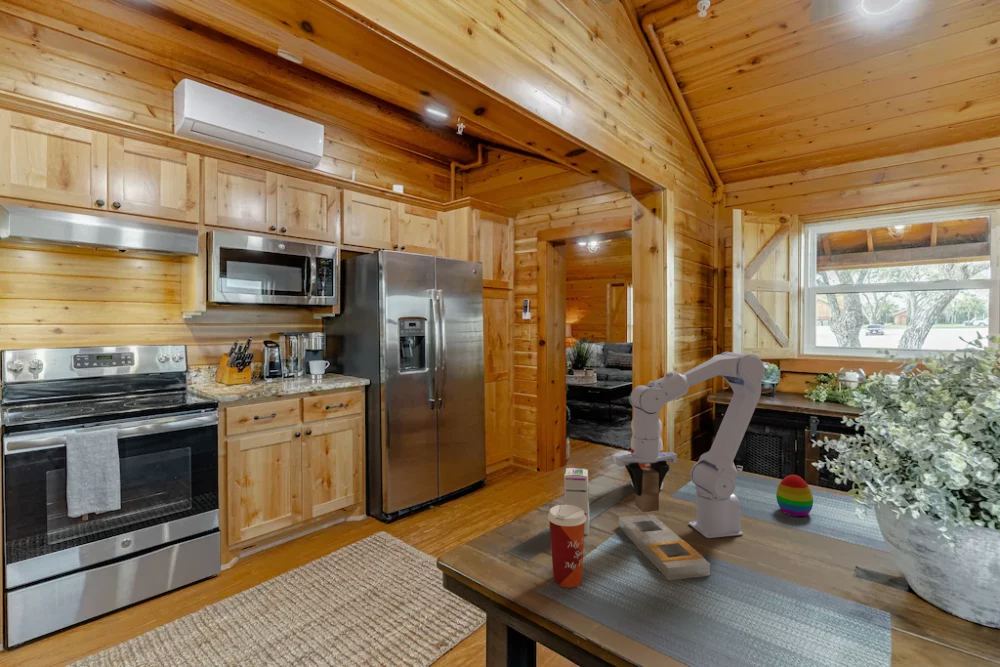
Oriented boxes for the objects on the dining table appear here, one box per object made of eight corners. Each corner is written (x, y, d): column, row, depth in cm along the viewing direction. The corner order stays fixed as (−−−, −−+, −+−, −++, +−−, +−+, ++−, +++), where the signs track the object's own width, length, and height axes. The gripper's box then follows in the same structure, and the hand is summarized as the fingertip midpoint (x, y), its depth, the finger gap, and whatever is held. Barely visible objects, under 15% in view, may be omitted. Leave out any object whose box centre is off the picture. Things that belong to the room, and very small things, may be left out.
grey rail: (652, 523, 117) (652, 513, 117) (710, 575, 93) (709, 562, 93) (619, 526, 116) (618, 516, 115) (668, 580, 92) (668, 567, 92)
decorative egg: (799, 505, 126) (799, 469, 126) (820, 518, 118) (820, 480, 118) (769, 506, 126) (769, 470, 126) (789, 519, 118) (789, 481, 118)
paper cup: (578, 595, 87) (577, 522, 87) (541, 583, 91) (540, 514, 91) (593, 575, 94) (592, 507, 94) (558, 565, 98) (557, 500, 98)
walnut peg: (650, 503, 112) (650, 467, 112) (658, 510, 108) (658, 472, 108) (635, 505, 112) (635, 468, 111) (642, 512, 108) (642, 473, 107)
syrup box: (589, 535, 112) (588, 475, 111) (564, 533, 113) (563, 474, 112) (589, 524, 117) (588, 468, 117) (566, 523, 118) (565, 467, 118)
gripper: (666, 431, 115) (666, 485, 115) (610, 434, 112) (611, 489, 113) (681, 438, 108) (682, 495, 108) (622, 442, 105) (623, 500, 106)
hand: (646, 493), depth 110 cm, fingers closed on walnut peg, 4 cm apart
